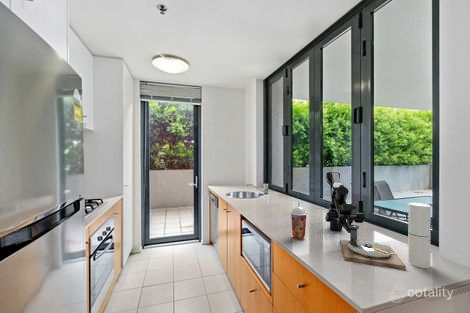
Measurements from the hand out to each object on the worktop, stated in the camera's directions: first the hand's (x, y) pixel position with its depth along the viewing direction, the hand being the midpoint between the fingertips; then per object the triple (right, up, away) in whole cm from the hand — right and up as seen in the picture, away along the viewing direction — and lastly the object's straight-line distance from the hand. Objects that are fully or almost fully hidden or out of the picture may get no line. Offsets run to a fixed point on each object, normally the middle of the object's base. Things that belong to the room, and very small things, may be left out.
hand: (349, 232), depth 110 cm
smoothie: (-22, -7, +13) cm, 26 cm away
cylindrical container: (+20, -8, -17) cm, 28 cm away
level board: (+5, -7, -7) cm, 12 cm away
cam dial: (+5, -5, -7) cm, 10 cm away
